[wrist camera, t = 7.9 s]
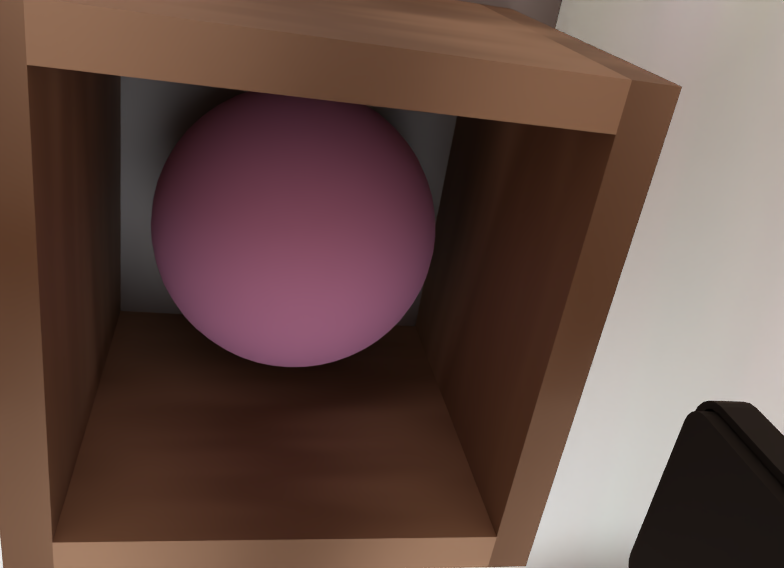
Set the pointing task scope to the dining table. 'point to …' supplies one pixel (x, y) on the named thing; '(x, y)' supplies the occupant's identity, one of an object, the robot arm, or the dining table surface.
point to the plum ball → (292, 227)
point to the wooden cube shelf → (320, 382)
